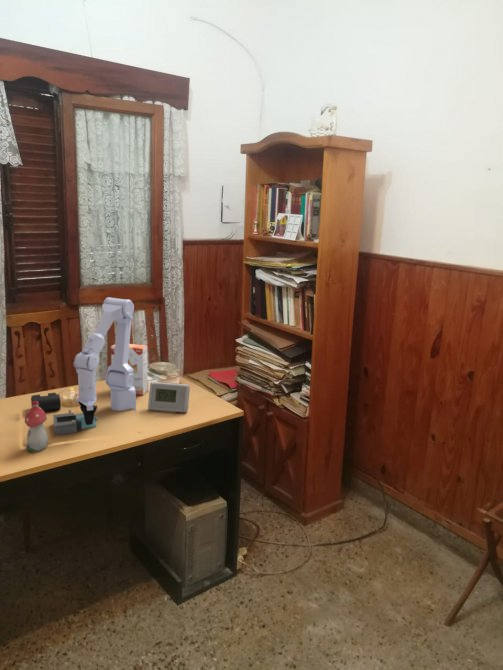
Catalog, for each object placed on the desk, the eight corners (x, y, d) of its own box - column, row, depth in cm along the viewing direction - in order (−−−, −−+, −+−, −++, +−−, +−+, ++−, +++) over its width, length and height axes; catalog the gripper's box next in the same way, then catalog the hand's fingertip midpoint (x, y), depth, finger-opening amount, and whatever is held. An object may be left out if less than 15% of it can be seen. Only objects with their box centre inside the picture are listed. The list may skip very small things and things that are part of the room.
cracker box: (111, 393, 221) (110, 345, 216) (117, 388, 227) (116, 341, 222) (143, 396, 219) (142, 348, 214) (148, 391, 225) (147, 344, 220)
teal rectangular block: (97, 421, 189) (95, 410, 188) (98, 425, 186) (96, 414, 184) (77, 426, 186) (75, 415, 185) (78, 430, 183) (76, 418, 182)
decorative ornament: (33, 440, 175) (30, 398, 172) (52, 441, 175) (50, 399, 172) (21, 453, 166) (18, 409, 163) (41, 454, 166) (39, 410, 163)
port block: (79, 423, 190) (79, 410, 189) (82, 434, 181) (81, 421, 180) (53, 426, 186) (53, 413, 185) (55, 438, 177) (54, 424, 176)
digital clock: (145, 410, 204) (145, 384, 202) (156, 402, 213) (156, 377, 210) (183, 417, 200) (183, 390, 197) (193, 408, 208) (193, 383, 205)
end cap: (33, 417, 194) (31, 400, 192) (30, 410, 200) (29, 394, 198) (61, 413, 198) (60, 396, 197) (58, 406, 204) (57, 390, 203)
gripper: (73, 380, 187) (74, 415, 191) (77, 394, 175) (78, 431, 178) (93, 378, 190) (94, 413, 193) (98, 392, 177) (100, 429, 181)
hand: (88, 422), depth 186 cm, fingers closed on teal rectangular block, 3 cm apart
